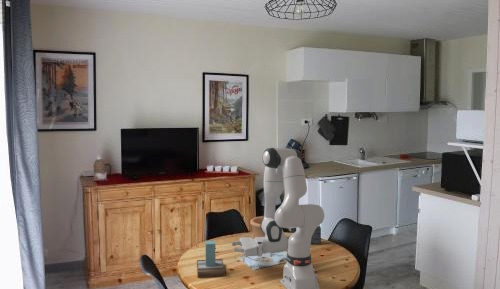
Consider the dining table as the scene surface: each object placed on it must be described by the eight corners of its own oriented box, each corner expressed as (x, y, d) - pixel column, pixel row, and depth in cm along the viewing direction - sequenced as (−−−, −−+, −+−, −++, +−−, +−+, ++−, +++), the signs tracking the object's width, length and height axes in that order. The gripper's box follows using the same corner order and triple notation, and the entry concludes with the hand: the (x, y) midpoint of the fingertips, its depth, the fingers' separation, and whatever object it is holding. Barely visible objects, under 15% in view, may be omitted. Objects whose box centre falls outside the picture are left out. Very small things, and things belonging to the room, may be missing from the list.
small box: (320, 241, 264) (320, 225, 263) (321, 244, 258) (321, 228, 257) (304, 240, 265) (304, 225, 264) (304, 244, 259) (304, 228, 258)
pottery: (249, 247, 251) (249, 225, 250) (250, 236, 273) (250, 215, 272) (284, 248, 250) (284, 225, 249) (282, 237, 272) (283, 216, 271)
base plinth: (224, 275, 209) (224, 269, 209) (197, 277, 207) (197, 271, 207) (222, 263, 225) (222, 258, 225) (196, 265, 223) (196, 259, 223)
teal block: (215, 265, 214) (215, 243, 213) (205, 266, 213) (205, 244, 212) (214, 262, 219) (214, 240, 218) (205, 262, 218) (205, 241, 217)
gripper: (255, 234, 229) (230, 235, 227) (262, 245, 209) (235, 247, 207) (255, 244, 230) (231, 246, 228) (261, 257, 210) (235, 259, 207)
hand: (233, 246), depth 217 cm, fingers open, 8 cm apart
